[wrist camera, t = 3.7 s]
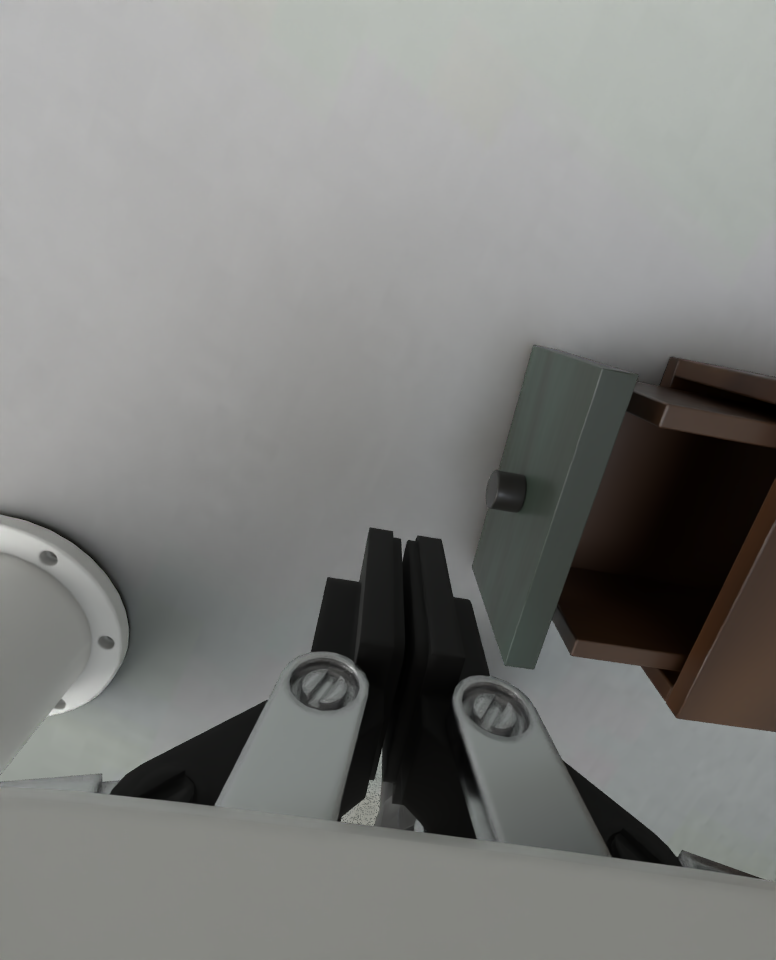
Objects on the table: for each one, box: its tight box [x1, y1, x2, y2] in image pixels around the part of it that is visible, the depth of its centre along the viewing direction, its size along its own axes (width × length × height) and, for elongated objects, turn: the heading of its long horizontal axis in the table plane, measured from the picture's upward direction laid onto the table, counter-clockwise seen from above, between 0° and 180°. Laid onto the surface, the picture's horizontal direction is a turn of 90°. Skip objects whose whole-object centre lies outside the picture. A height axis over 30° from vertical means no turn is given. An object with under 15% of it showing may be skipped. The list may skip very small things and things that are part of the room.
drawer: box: [472, 345, 776, 672], centre depth 21 cm, size 15×11×7 cm
